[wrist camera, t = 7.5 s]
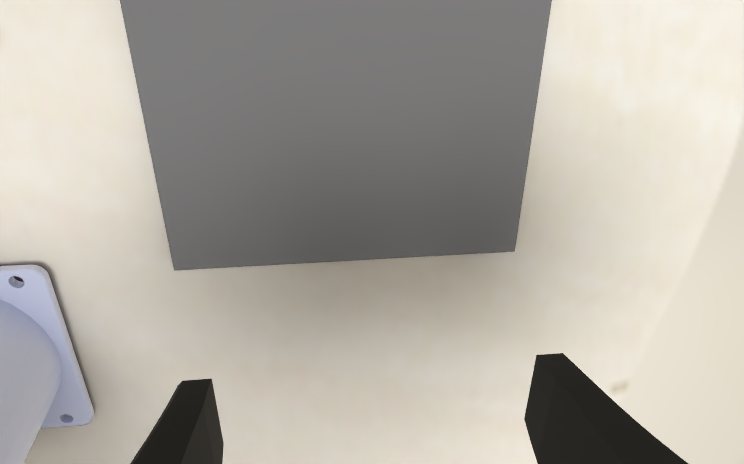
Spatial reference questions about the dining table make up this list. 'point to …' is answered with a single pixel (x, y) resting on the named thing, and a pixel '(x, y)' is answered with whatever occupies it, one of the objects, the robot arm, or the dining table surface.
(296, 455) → the dining table surface
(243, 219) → the rubber mat
